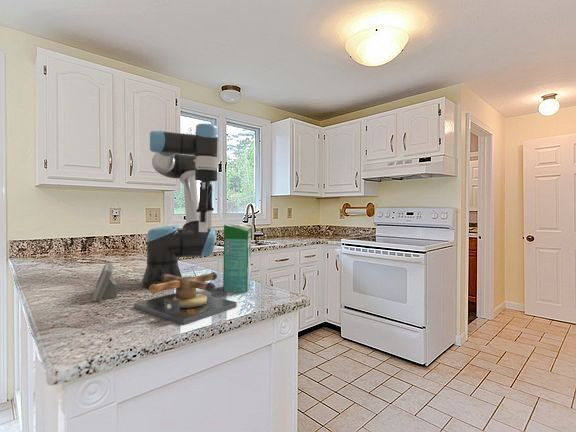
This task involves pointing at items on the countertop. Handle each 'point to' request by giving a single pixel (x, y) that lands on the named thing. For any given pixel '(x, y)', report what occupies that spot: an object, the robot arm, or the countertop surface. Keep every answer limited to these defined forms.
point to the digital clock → (105, 285)
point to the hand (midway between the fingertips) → (205, 230)
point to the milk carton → (237, 258)
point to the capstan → (186, 288)
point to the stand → (180, 315)
